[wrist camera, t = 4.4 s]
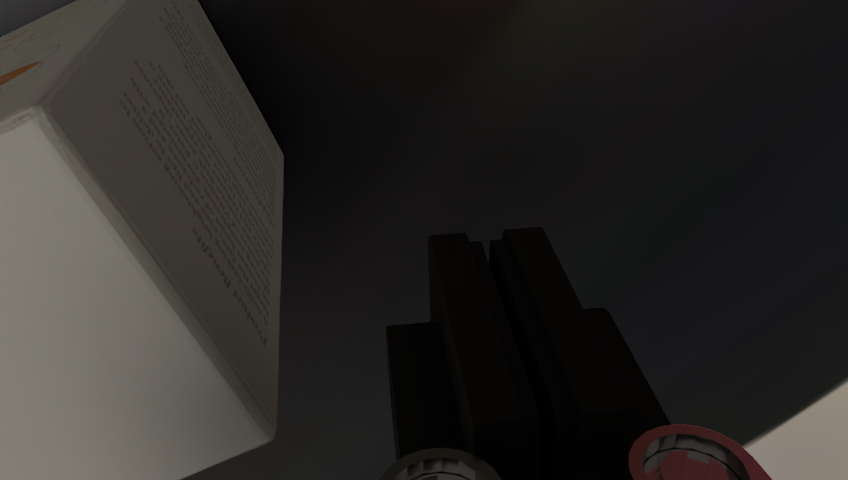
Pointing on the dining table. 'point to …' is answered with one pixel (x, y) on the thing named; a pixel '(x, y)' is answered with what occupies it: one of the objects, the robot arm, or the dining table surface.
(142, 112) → the small box
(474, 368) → the robot arm
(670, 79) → the dining table surface
